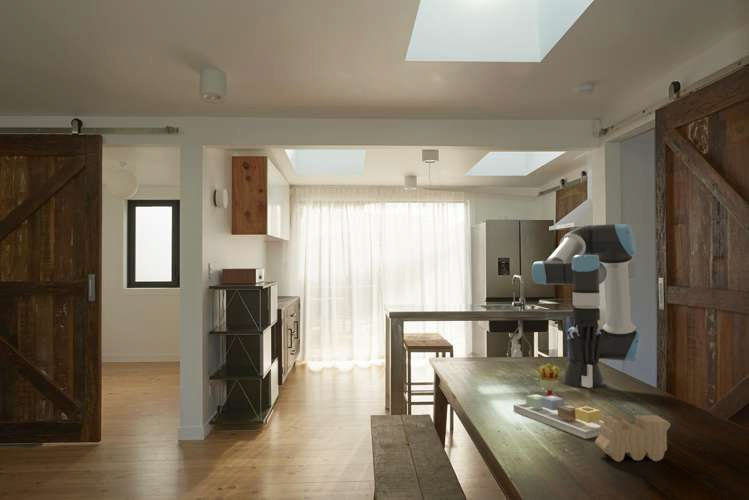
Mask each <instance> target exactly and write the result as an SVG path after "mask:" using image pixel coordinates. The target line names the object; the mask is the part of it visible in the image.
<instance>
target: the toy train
mask: <svg viewBox="0 0 749 500" xmlns="http://www.w3.org/2000/svg"><path fill="white" fill-rule="evenodd" d="M603 421H604V424H602V425H601V429H600V435H599V436H597V438H596V439H595V441H594V444H595V445H596V446H597V447H599V448H600V450H602V451H603V452H604V453H605V454H606V455H608V456H609V457H610V458H611V459H613V460H614V461H616V462H622V461H623V460H624V458H625V455H626V456H628V457H630V458H631V459H633V460H634V461H642V460H643V459H644V458H645V457H646V458H649V459H650V460H652V461H654V462H658V461H659V462H660V461H661V460H662V459H664V456H665V452H666V451H667V450H668V441H667V440H668V436H667V435H668V434H667V432H668V430H669V429H670V428H671V426H672V424H671V422H669V421H668V420H666V419H664V418H662V417H660V416H659V415H656V414H653V415H652V414H651V415H650V414H649V415H647V414H646V415H643V414H642V415H641V414H639V415H638V414H637V415H635V416H634V423H630V422H629V421H627V420H625V419H623V418H622V419H620V420H618V419H616V418H614V417H613V416H611V415H609V414H608V415H603Z"/></svg>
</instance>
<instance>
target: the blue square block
mask: <svg viewBox="0 0 749 500" xmlns="http://www.w3.org/2000/svg"><path fill="white" fill-rule="evenodd" d="M553 395H554V394H553ZM553 395H551V396H546V395H545V396H544V397H541V407H544V408H547V409H550V410H558V406H564V405H565V401H564V398H562V397H559V396H556V395H554V396H553Z"/></svg>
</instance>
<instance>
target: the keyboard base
mask: <svg viewBox="0 0 749 500" xmlns="http://www.w3.org/2000/svg"><path fill="white" fill-rule="evenodd" d="M513 411H514V412H515V413H517V414H521V415H524V416H525V417H528V418H531V419H533V420H536V421H539V422H541V423H544V424H547V425H549V426H552V427H554V428H557V429H560V430H562V431H564V432H567V433H570V434H572V435H575V436H576V437H577V436H578V437H580V438H582V439H585V440H586V439H591V438H595V437H598V436H599V435H600V429H601V425H602V424H604V420H601V419H600V421H596V422H591V423H587V422H584V421H581V420H578V419H576V420H571V421H569V420H567V419H564V418H561V417H558V410H550V409H547V408H544V407H543V408H537V409H536V408H533V407H531V406H528V405H526V402H522V403H517V404H516V403H515V404H513Z"/></svg>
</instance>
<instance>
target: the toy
mask: <svg viewBox="0 0 749 500" xmlns="http://www.w3.org/2000/svg"><path fill="white" fill-rule="evenodd" d="M537 370H538V372H539V379H540V380H539V381H540V385H541V387H542V388H543V389H544V390H546V391H547V392H546V395H545V396H551V395H553V396H555V395H554V393H553V391H555V390H556V389H557V388H558V387H559V384H560V379H559V374H560V372H561V370H560V368H559V367H558V366H556V365H552V364H551V363H546V364H544V365H540V366H539V367H538V369H537Z"/></svg>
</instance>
